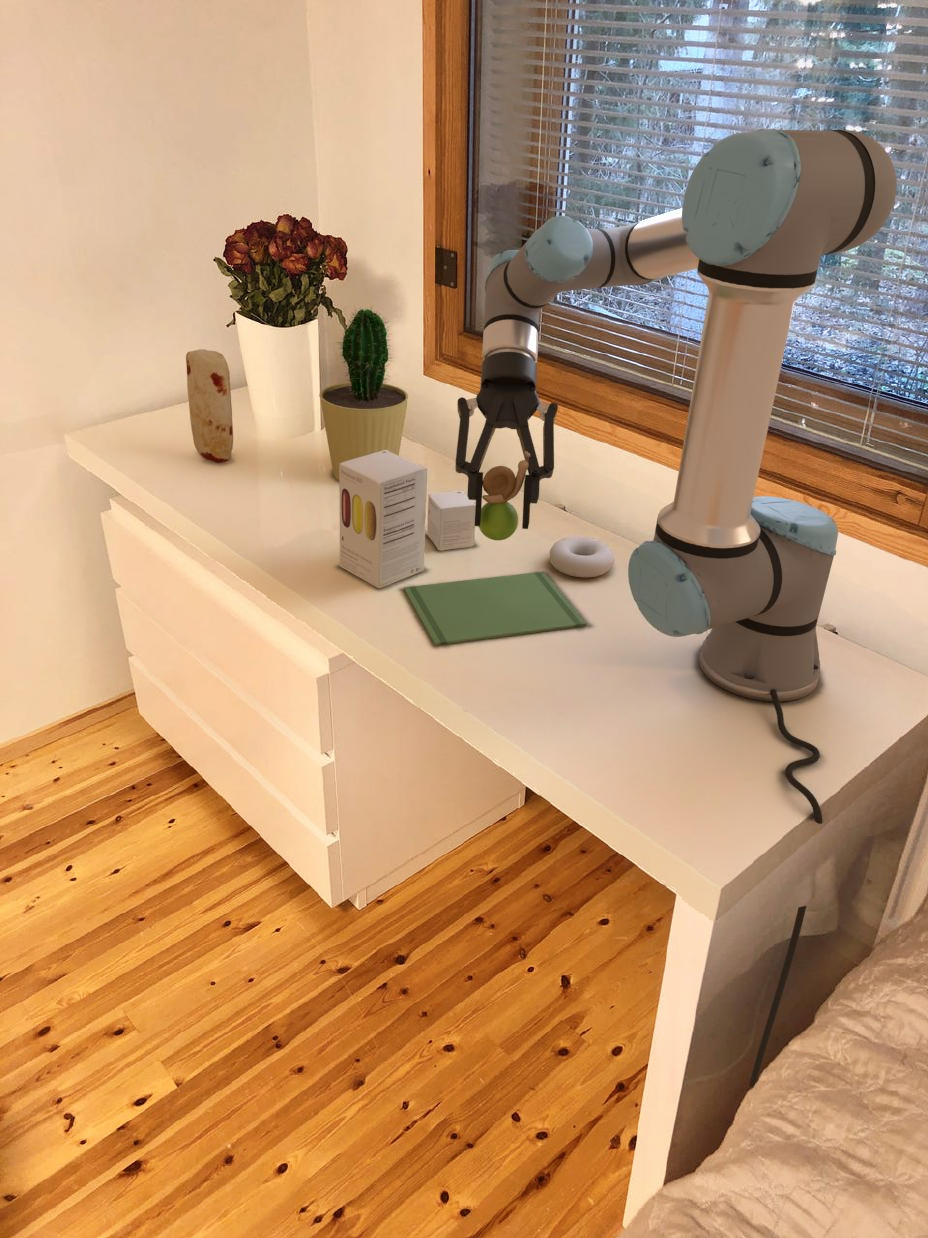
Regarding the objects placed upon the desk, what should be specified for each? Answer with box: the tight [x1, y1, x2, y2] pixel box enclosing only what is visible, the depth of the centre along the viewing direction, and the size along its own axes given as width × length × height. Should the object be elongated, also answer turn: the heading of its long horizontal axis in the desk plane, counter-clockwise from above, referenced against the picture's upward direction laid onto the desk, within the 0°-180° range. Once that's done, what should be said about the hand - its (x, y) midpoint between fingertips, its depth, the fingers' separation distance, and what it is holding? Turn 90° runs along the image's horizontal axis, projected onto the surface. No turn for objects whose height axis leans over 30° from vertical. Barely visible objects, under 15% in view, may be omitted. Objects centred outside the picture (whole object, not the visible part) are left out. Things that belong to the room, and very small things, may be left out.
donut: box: [548, 536, 615, 579], centre depth 160 cm, size 10×4×10 cm
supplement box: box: [339, 450, 428, 589], centre depth 153 cm, size 10×9×17 cm
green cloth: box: [403, 571, 587, 646], centre depth 148 cm, size 16×22×1 cm
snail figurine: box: [478, 451, 530, 541], centre depth 137 cm, size 5×6×12 cm
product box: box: [426, 489, 476, 552], centre depth 165 cm, size 6×6×7 cm
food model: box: [185, 348, 234, 464], centre depth 187 cm, size 10×7×20 cm
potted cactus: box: [318, 305, 409, 482], centre depth 181 cm, size 15×15×30 cm
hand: (501, 523), depth 135 cm, fingers closed on snail figurine, 6 cm apart
